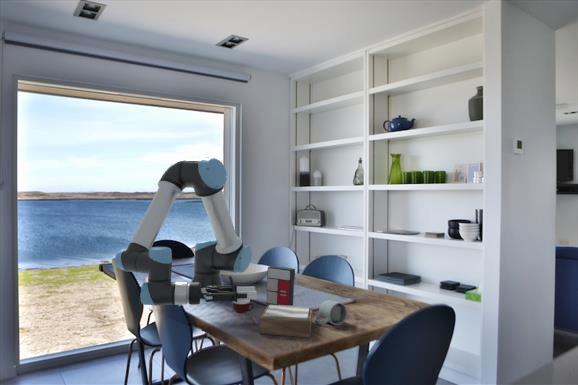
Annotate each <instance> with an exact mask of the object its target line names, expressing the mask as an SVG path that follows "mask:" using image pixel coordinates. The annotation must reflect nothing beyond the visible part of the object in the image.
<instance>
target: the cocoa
mask: <svg viewBox="0 0 578 385" xmlns="http://www.w3.org/2000/svg"><path fill="white" fill-rule="evenodd" d="M228 280H229V283H230V285H231V287H232V290H233V292H236V290H235V286H234V284H235V283H234V279H233V276H232V275H229V276H228ZM231 302H232V309H233V311H234V312H235V313H237V314H241V315H242V314H246V313H248V312H250V311H252V310H253V309H254V304H253V303H251V299H244V300H238V299H237V302H235V301H234V302H233V301H231ZM250 306H251V308H250Z"/></svg>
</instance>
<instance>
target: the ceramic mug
mask: <svg viewBox="0 0 578 385" xmlns="http://www.w3.org/2000/svg"><path fill="white" fill-rule="evenodd" d="M347 316H348V309H347V306H346V305H345V304H344V303H342V302H339V301H335V300H331V299H330V300H329V299H328V300H324V301H322V302H321V303H320V305H319V308H318V314H316V315H315V316H314V322H315V324H316V325H318V326H320V325H325V324H327V323H330V324H332V325H334V326H341V325H343V323H344V322H346V320H347ZM319 319H320V320H319Z"/></svg>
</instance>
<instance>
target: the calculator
mask: <svg viewBox="0 0 578 385" xmlns="http://www.w3.org/2000/svg"><path fill="white" fill-rule="evenodd" d="M266 276H267V278H266V304H268V305H287V306H294V290H295V289H294V288H295V278H296V269H295V268H292V267H291V268H290V267H283V266H275V265H274V266H273V265H272V266H268V267H267V275H266Z"/></svg>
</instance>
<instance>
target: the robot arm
mask: <svg viewBox="0 0 578 385" xmlns="http://www.w3.org/2000/svg"><path fill="white" fill-rule="evenodd" d="M227 175H228V174H227V170H226V167H225V165H224V164H223V163H222V161H221V160H219V159H217V158H215V157H196V158H194V157H186V158H185V157H184V158H180V159H178V160H176V161H174V162H173V163H172V164H171V165H170V166H169V167H168V168H167V169H166V170H165V171H164V172H163V174H162V175H161V177H160V179H159V181H158V182H157V186H158V188H157V191H156V192H155V194H154V196H153V198H152V200H151V201H150V204H149V206H148V207H147V209H146V211H145V214H144V216H143V217H142V219H141V221H140V223H139V225H138V227H137V229H136V230H135V231H134V234H133V236H132V238H131V240H130V242H129V244H128V246H127V248H123V249H120V250H119V251H118V252H117V253H116V254H115V257H114V263H115V264H114V265H115V266H116V268H117V269H119V270H121V271H124V272H128V273H130V272H131V273H139V274H145V275H148V276H147V281H146V282H143V283H142V284H141V287H140V301H141V304H142V305H144V306H155V307H156V306H174V305H176V306H177V305H178V307H182V306H185V305H189V306H192V305H194V306H195V305H200V304H201V300H205V302H207V303H209V302H232V301H233V302H234V301H235V302H237V299H238V300H244V299H250V300H257V297H258V296H257V294H258V291H257V290H256V286H253V285H251V286H237V285H238V284H235V283H234V286H235V290H236V292H233V290H232V287H231V284H229V285H224V283H223V279H222V277H221V271H223V272H230V273H240V274H242V273H244V272H246V271H247V269H248V268H249V266H250V264H251V261H252V249H251V247H250V246H248V245H244V243H243V240H242V238H241V237H240V236H237V233H236V231H235V230H236V229H235V226H234V224H233V221H232V217H231V215H230V212H229V209H228V205H227V203H226V200H225V196H224V194H223V190H224V188H225V184H226V182H227ZM186 188H187V189H189V188H193V190H194V193H195V195H196V197H197V198H200V200H201V201H202V203H203V206H204V209H205V212H206V215H207V217H208V220H209V223H210V226H211V228H212V232H213V234H214V237H215V239H213V240H203V241H197V242H196V243H195V246H194V261H193V263H194V266H193V267H194V268H193V277H192V279H191V281H190V283H189V282H187V281H185V282H184V281H178V282H172V271H173V270H172V269H173V268H172V267H173V266H172V265H173V258H172V257H173V253H172V249H171V248H170V247H168V246H153V245H154V243H155V241H156V239H157V237H158V235H159V233H160V231H161V229H162V227H163V225H164V222H165V221H166V219H167V217H168V215H169V213H170V212H171V209H172V207H173V205H174V203H175V200H177V197H178V196H181V195H182V193H183V190H185V189H186ZM233 302H232V303H233Z"/></svg>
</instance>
